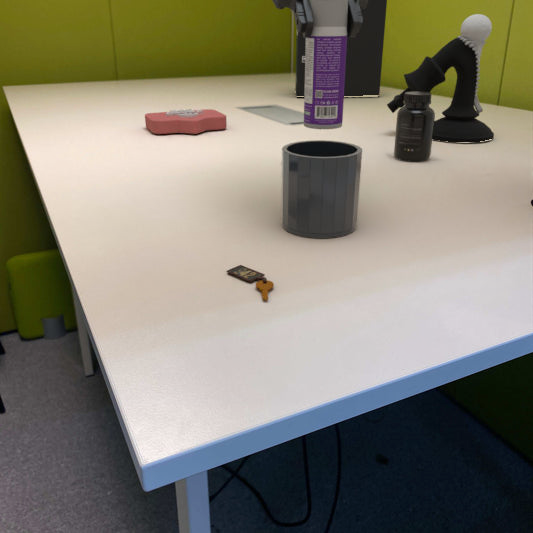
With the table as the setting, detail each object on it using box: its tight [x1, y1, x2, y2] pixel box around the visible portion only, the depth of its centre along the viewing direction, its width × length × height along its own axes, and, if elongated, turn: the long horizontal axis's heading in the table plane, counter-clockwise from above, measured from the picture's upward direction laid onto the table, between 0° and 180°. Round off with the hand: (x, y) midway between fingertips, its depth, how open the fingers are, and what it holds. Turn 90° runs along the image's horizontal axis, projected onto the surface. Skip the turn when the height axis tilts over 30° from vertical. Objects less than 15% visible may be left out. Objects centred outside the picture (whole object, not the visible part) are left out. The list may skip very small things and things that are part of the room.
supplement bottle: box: [393, 91, 436, 163], centre depth 102 cm, size 7×7×12 cm
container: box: [303, 0, 348, 130], centre depth 63 cm, size 5×5×15 cm
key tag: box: [226, 264, 275, 301], centre depth 56 cm, size 8×3×1 cm, turn 32°
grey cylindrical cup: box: [280, 139, 363, 239], centre depth 70 cm, size 10×10×10 cm
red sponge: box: [144, 108, 228, 135], centre depth 131 cm, size 18×4×15 cm
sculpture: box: [386, 13, 495, 143], centre depth 118 cm, size 15×24×25 cm, turn 82°
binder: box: [294, 0, 388, 97], centre depth 179 cm, size 27×15×32 cm, turn 89°
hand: (332, 31), depth 60 cm, fingers closed on container, 4 cm apart
